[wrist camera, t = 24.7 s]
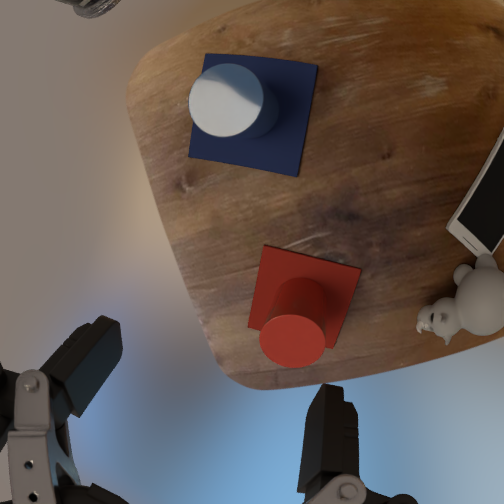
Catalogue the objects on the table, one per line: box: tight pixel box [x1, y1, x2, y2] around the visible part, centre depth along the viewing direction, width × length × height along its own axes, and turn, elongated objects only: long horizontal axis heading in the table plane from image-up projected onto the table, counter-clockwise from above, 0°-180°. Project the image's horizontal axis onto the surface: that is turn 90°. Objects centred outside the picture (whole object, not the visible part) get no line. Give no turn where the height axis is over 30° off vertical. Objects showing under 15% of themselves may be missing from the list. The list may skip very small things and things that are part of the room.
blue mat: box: [188, 54, 318, 177], centre depth 29 cm, size 12×12×1 cm
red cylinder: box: [259, 278, 328, 368], centre depth 31 cm, size 6×6×8 cm
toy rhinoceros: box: [416, 254, 504, 345], centre depth 26 cm, size 7×12×8 cm, turn 117°
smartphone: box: [446, 128, 504, 258], centre depth 24 cm, size 7×16×1 cm, turn 150°
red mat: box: [248, 245, 361, 349], centre depth 35 cm, size 11×11×1 cm
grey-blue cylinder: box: [188, 63, 279, 139], centre depth 25 cm, size 6×6×8 cm
